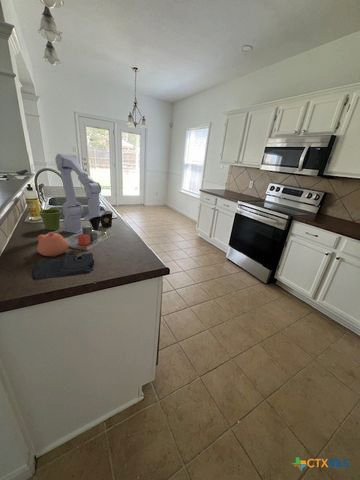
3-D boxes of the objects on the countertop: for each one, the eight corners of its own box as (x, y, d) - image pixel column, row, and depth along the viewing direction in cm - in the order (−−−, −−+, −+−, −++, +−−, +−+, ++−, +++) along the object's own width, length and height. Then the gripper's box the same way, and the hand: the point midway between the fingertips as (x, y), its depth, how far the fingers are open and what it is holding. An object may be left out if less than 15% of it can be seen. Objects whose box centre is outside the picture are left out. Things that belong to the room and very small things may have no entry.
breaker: (82, 233, 118) (82, 227, 116) (87, 231, 121) (86, 225, 120) (87, 234, 117) (86, 228, 116) (91, 232, 121) (91, 226, 119)
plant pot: (36, 229, 122) (33, 211, 118) (53, 224, 132) (50, 208, 128) (52, 233, 119) (49, 214, 115) (67, 227, 130) (65, 210, 126)
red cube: (78, 244, 103) (77, 236, 102) (83, 241, 107) (83, 233, 105) (85, 245, 102) (84, 237, 101) (90, 242, 106) (89, 234, 104)
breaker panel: (57, 244, 104) (56, 241, 103) (87, 231, 126) (87, 228, 125) (87, 250, 101) (87, 246, 100) (113, 235, 123) (113, 232, 122)
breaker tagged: (88, 239, 109) (87, 233, 108) (92, 237, 113) (92, 231, 112) (93, 240, 109) (92, 234, 107) (97, 238, 112) (97, 232, 111)
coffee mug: (115, 225, 142) (114, 211, 138) (110, 228, 134) (109, 214, 130) (99, 223, 143) (98, 209, 139) (93, 227, 135) (92, 212, 131)
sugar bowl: (55, 260, 89) (52, 239, 86) (28, 255, 91) (24, 234, 88) (74, 249, 100) (72, 230, 97) (49, 245, 103) (46, 226, 99)
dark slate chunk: (38, 263, 86) (36, 253, 85) (93, 257, 96) (92, 248, 94) (30, 282, 74) (28, 271, 72) (95, 273, 83) (94, 263, 81)
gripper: (91, 209, 100) (93, 235, 105) (108, 204, 113) (109, 227, 118) (79, 207, 101) (82, 233, 106) (97, 202, 115) (98, 225, 119)
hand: (95, 229), depth 112 cm, fingers closed
